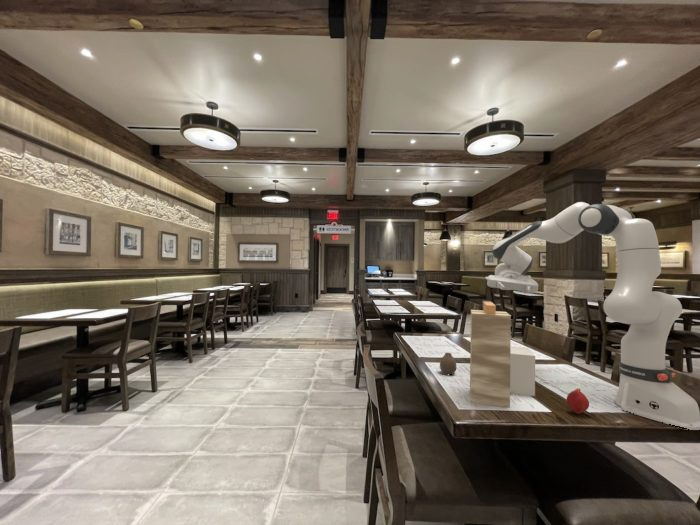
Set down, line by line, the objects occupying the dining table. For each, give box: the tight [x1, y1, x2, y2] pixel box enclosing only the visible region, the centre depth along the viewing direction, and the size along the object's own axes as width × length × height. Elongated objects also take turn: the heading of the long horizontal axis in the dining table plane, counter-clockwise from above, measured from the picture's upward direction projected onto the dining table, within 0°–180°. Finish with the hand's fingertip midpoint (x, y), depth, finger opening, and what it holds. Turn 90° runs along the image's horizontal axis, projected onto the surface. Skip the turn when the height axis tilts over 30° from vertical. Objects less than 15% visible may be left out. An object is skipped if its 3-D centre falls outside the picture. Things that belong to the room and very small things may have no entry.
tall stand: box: [469, 309, 512, 408], centre depth 114 cm, size 12×12×30 cm
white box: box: [510, 345, 536, 397], centre depth 125 cm, size 13×12×14 cm
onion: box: [566, 387, 590, 415], centre depth 103 cm, size 6×6×8 cm
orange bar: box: [481, 300, 497, 315], centre depth 119 cm, size 19×3×3 cm, turn 161°
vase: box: [439, 352, 457, 375], centre depth 141 cm, size 7×7×9 cm
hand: (515, 289), depth 136 cm, fingers open, 8 cm apart
